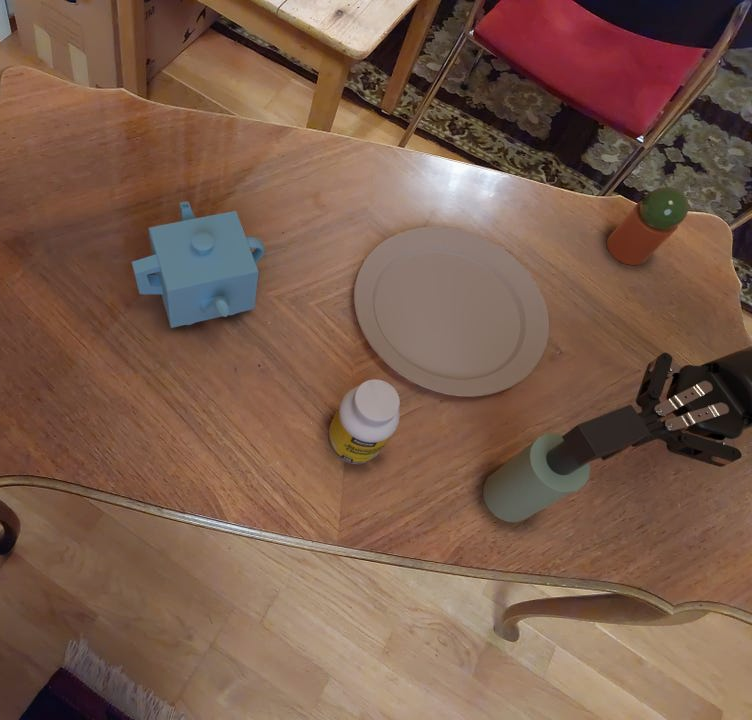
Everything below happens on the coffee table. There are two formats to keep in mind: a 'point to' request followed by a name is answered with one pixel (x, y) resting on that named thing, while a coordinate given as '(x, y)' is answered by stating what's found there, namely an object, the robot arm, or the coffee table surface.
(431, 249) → the plate
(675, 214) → the plant pot
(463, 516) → the coffee table surface
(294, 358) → the coffee table surface
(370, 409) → the pill bottle
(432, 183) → the coffee table surface
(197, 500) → the coffee table surface
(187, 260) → the teapot
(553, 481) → the spray bottle
